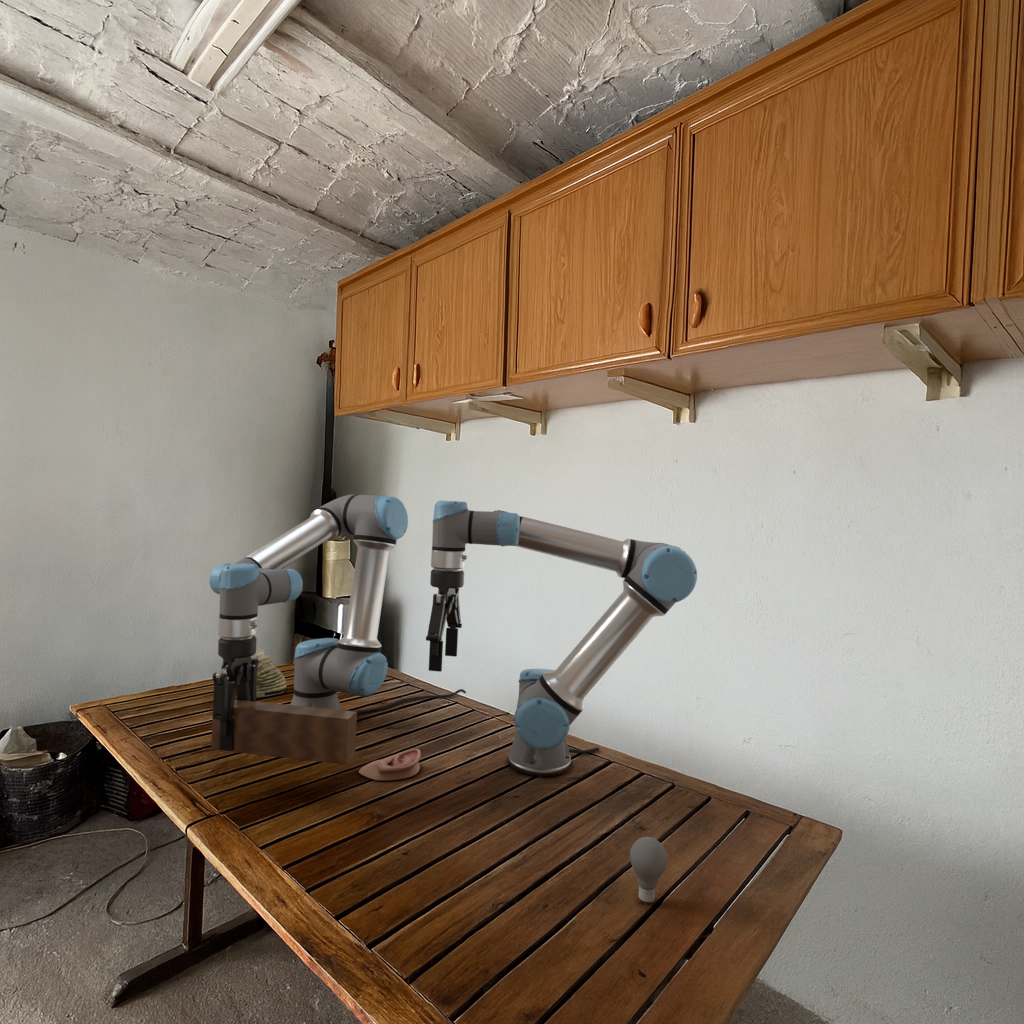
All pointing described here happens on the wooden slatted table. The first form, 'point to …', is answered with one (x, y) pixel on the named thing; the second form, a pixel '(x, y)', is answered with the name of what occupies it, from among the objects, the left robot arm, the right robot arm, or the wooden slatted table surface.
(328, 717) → the bar
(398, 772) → the anatomical model
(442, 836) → the wooden slatted table surface
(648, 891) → the light bulb
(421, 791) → the wooden slatted table surface
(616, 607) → the right robot arm
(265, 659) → the fossil
